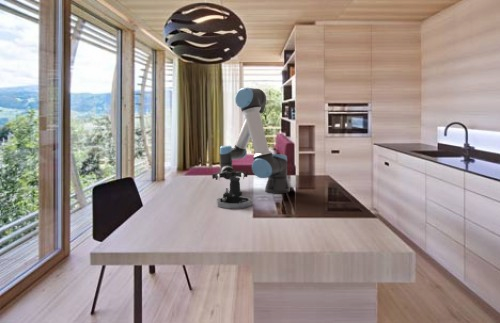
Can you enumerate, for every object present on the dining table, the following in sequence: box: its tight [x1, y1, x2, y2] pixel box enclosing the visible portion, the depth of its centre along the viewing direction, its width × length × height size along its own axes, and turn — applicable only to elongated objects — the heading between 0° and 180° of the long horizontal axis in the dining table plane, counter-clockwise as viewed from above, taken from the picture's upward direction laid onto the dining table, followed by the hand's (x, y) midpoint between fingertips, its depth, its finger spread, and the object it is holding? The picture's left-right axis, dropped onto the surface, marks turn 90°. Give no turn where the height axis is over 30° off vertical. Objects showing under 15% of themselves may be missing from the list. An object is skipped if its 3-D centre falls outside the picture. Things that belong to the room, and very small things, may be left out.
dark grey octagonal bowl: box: [216, 196, 253, 210], centre depth 210 cm, size 18×18×2 cm
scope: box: [222, 177, 243, 203], centre depth 209 cm, size 8×14×10 cm
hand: (231, 177), depth 219 cm, fingers open, 13 cm apart
